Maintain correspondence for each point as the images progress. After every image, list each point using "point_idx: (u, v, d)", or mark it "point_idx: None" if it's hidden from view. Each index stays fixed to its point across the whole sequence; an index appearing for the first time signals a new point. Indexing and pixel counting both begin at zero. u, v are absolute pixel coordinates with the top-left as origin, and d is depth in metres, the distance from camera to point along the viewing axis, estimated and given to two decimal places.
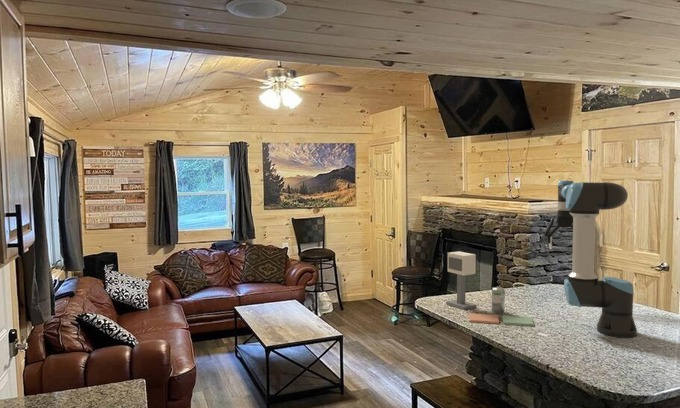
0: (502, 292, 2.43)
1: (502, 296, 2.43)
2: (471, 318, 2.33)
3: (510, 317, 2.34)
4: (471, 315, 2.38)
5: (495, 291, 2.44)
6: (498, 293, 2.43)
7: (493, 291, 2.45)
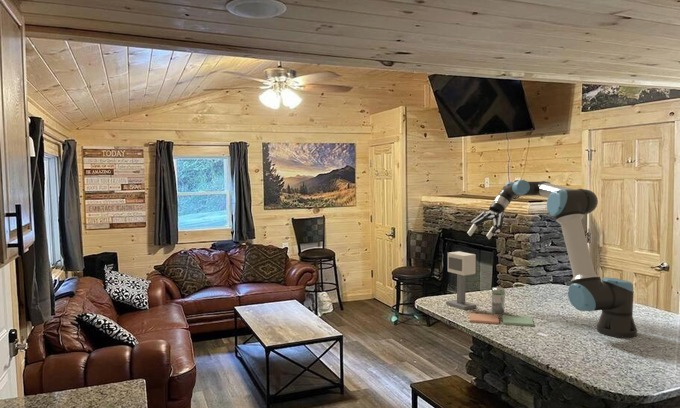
0: (502, 292, 2.43)
1: (502, 296, 2.43)
2: (471, 318, 2.33)
3: (510, 317, 2.34)
4: (471, 315, 2.38)
5: (495, 291, 2.44)
6: (498, 293, 2.43)
7: (493, 291, 2.45)
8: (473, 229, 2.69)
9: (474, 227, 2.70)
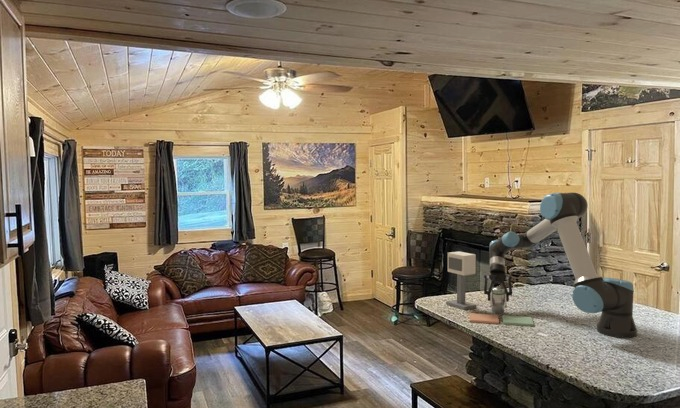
0: (502, 292, 2.43)
1: (502, 296, 2.43)
2: (471, 318, 2.33)
3: (510, 317, 2.34)
4: (471, 315, 2.38)
5: (495, 291, 2.44)
6: (498, 293, 2.43)
7: (493, 291, 2.45)
8: (491, 299, 2.46)
9: (491, 297, 2.47)
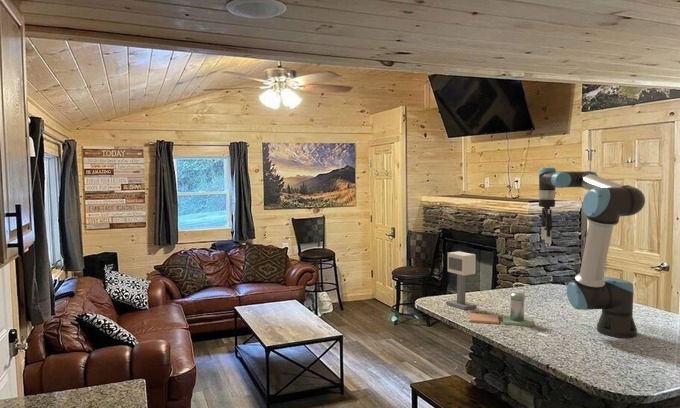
0: (522, 298, 2.28)
1: (522, 302, 2.28)
2: (471, 318, 2.33)
3: None
4: (471, 315, 2.38)
5: (515, 296, 2.28)
6: (518, 299, 2.28)
7: (512, 296, 2.29)
8: (545, 232, 2.54)
9: (544, 229, 2.54)
